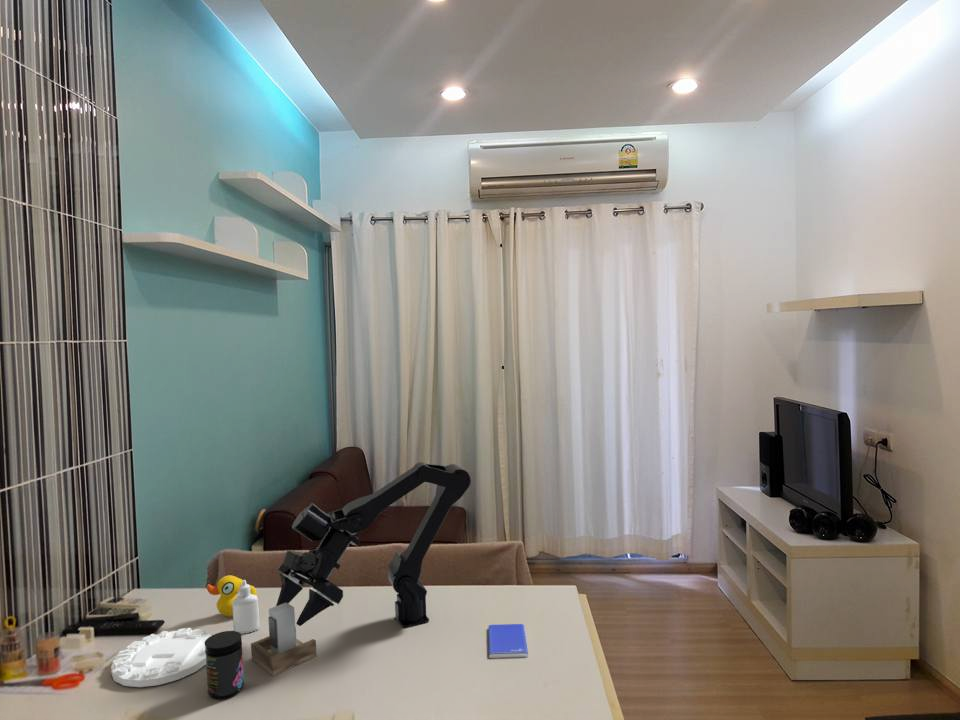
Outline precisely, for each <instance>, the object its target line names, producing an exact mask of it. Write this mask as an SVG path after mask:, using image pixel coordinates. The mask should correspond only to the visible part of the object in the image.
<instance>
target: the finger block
mask: <svg viewBox="0 0 960 720" xmlns="http://www.w3.org/2000/svg"><path fill="white" fill-rule="evenodd" d="M295 612H296V611H295V607H294V606H293V605H292V604H289V603H283V604H281V605H278V606H276V605H275V606H273V607H270V608H268V634H269V637H270V645H271V654H273V655H274V656H275V655H277V654H280V653H282V652H284V651H287V650H289V649H291V648H294V647H296V639H297V631H296V632H295V628H296V616H295V615H296V614H295Z"/></svg>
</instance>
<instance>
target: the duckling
mask: <svg viewBox="0 0 960 720" xmlns="http://www.w3.org/2000/svg"><path fill="white" fill-rule="evenodd" d="M243 580H244V579H242V578H239V577H237V576H234V575H232V574H231V575H225V576H222V577H221V578H220V579H219V580H218V582H217V586H215V585H211V584H210V583H208V584H207V585H206V590H207V592H208V593H209V594H210V595H212V596H217V595H220V597H219V598H218V599H217V602H216V609H217V610H218V612H219V613H220V614H221V615H223V616H225V617H228V618H233V605H232V604H233V600H234V599H235V598H236V597H238V596H239V595H237V594H239V587H240V586H241V585H242V581H243ZM250 594H253V595H256V596H257V597H258V591H257V589H256V588H255V586H254V585H250Z"/></svg>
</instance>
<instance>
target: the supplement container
mask: <svg viewBox="0 0 960 720" xmlns="http://www.w3.org/2000/svg"><path fill="white" fill-rule="evenodd" d="M242 636H243V635H242V634H241V633H239V632H237V631H234V630H226V631H220V632H216V633H215V634H212V635H211V636H210V637H209V638H208V639H206V641H205V657H206V665H205V670H206V671H205V672H206V686H207V687H206V688H207V694H208V696H209V698H211V699H214V700H226V699H230V698H232V697H234V696H236V695H237V694H239V693H240V692H241V691H242V689H243V688H244V685H245V679H244V677H245V676H244V658H243V640H242V638H243V637H242Z"/></svg>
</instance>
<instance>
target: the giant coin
mask: <svg viewBox="0 0 960 720" xmlns="http://www.w3.org/2000/svg"><path fill="white" fill-rule="evenodd" d="M210 636H212V635H211V634H210V633H208V632H206V630H205V629H199V628H198V629H197V628H196V629H194V630H193V629H192V627H187V628H186V627H185V628H179V629H178V630H175V631H168V630H166V631H165V630H162V632H160V633H159V634H155V633H151V634H150V635H147V636H144V637H142V640H140V641H139V640H134V641H132V642H131V643H130V644H129V645H127V646H126V647H125V649H123V650H119V652H118V654H117V656H115V658H114V659H113V660H112V664H111V665H110V671H111V672H110V673H111V676H112V678H113V681H114V682H115V683H118V684H120V685H122V686H124V687H133V688H134V687H135V688H145V687H153V686H155V687H156V686H161V685H164V684H168V683H171V682H175V681H177V680H181V679H183V678H184V677H187V676H189V675H192V674H194V673H196V672H198V671H199V670H200V669H202V668H203V667H204V666H206V657H205V641H206V639H208V638H209V637H210Z"/></svg>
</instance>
